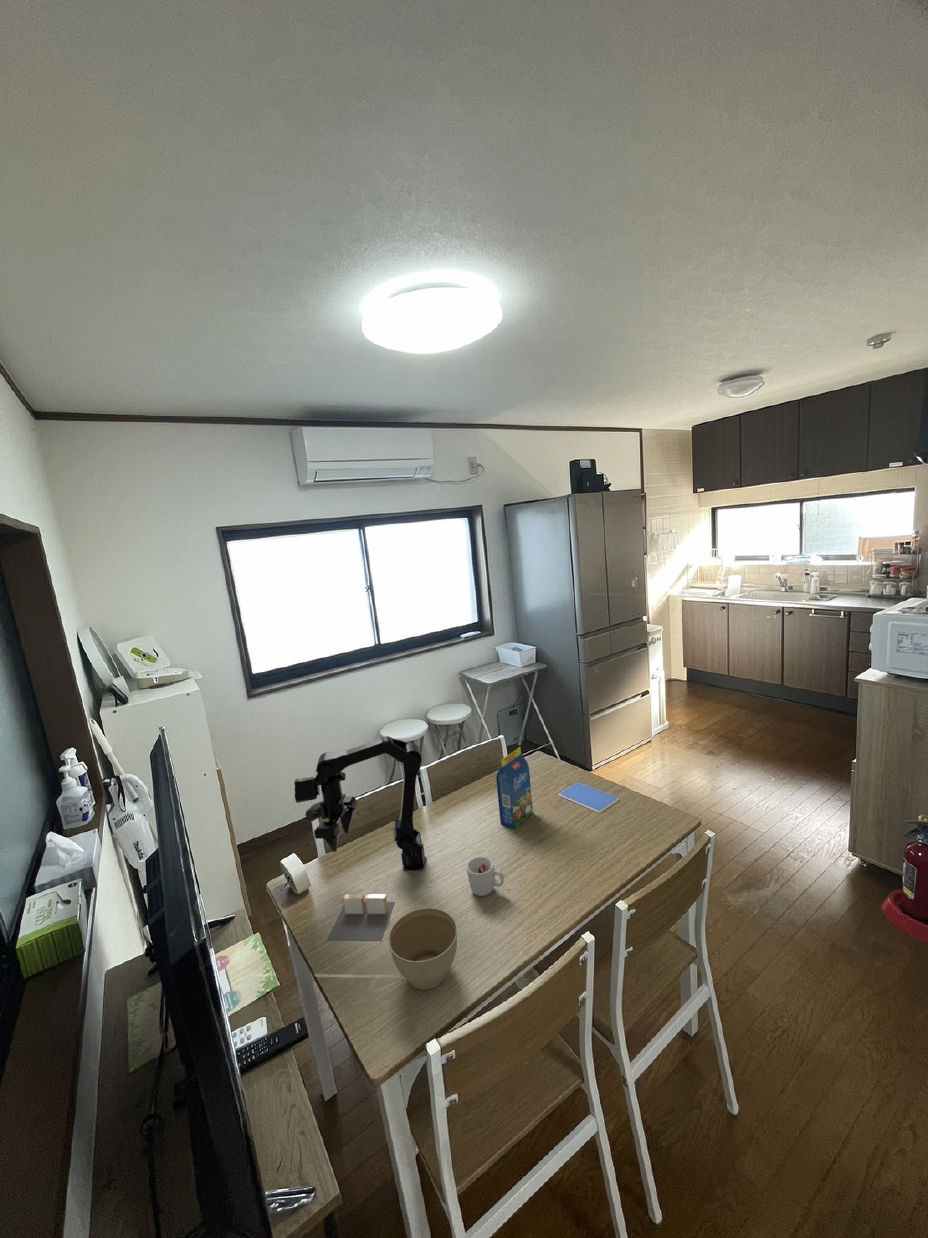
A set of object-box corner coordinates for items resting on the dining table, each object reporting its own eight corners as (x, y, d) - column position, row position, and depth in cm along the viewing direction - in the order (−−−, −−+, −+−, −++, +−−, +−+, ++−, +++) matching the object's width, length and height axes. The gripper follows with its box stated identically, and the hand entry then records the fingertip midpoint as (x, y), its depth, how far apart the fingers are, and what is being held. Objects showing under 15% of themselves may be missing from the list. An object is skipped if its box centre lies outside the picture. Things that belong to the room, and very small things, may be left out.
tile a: (388, 910, 141) (385, 894, 140) (386, 914, 139) (384, 898, 138) (369, 910, 141) (366, 894, 141) (367, 914, 140) (364, 898, 139)
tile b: (365, 910, 141) (363, 894, 141) (363, 914, 140) (361, 898, 139) (347, 910, 142) (344, 894, 141) (344, 914, 140) (342, 898, 140)
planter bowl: (405, 1016, 109) (399, 973, 107) (386, 962, 124) (380, 923, 122) (472, 984, 115) (468, 942, 113) (446, 936, 130) (442, 899, 128)
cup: (508, 884, 147) (506, 859, 146) (501, 903, 139) (499, 877, 138) (473, 879, 150) (471, 855, 149) (465, 897, 143) (462, 872, 142)
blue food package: (533, 813, 183) (527, 748, 179) (515, 829, 174) (508, 761, 170) (518, 808, 187) (513, 745, 183) (500, 824, 178) (493, 758, 174)
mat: (395, 903, 144) (395, 902, 144) (381, 942, 130) (381, 940, 130) (345, 903, 146) (345, 902, 146) (326, 942, 132) (326, 940, 132)
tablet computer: (620, 800, 186) (620, 797, 186) (599, 815, 178) (599, 811, 178) (578, 784, 201) (578, 781, 200) (557, 797, 193) (557, 793, 193)
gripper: (320, 780, 162) (328, 825, 165) (292, 812, 144) (302, 861, 147) (353, 779, 160) (361, 824, 163) (329, 811, 142) (338, 861, 145)
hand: (340, 841), depth 154 cm, fingers open, 9 cm apart
